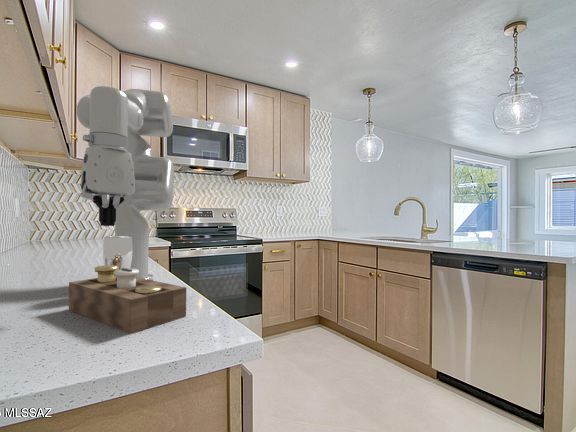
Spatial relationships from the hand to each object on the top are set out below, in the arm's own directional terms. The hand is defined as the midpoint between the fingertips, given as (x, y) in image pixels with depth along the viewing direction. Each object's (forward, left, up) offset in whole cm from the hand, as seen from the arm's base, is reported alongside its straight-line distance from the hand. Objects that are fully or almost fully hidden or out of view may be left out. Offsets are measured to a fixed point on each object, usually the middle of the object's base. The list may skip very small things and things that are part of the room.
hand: (107, 225), depth 73 cm
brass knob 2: (+16, 0, -18) cm, 24 cm away
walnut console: (+8, 0, -18) cm, 20 cm away
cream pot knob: (+8, 0, -15) cm, 17 cm away
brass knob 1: (0, 0, -15) cm, 15 cm away
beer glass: (-10, +8, -19) cm, 23 cm away
